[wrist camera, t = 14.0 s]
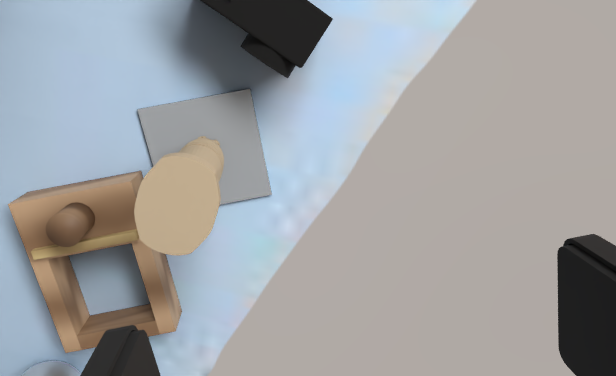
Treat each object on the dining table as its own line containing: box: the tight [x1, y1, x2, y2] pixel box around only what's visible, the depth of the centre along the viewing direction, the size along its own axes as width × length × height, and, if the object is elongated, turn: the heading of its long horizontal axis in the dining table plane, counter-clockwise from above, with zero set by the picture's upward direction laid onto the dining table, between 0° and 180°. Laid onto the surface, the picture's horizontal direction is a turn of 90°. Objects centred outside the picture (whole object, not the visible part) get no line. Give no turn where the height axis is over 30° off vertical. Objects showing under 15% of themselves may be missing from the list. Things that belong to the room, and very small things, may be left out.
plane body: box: [8, 171, 182, 353], centre depth 43 cm, size 15×10×6 cm
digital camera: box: [201, 0, 333, 78], centre depth 37 cm, size 10×5×7 cm, turn 56°
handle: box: [134, 136, 224, 255], centre depth 36 cm, size 5×6×15 cm
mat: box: [138, 89, 272, 205], centre depth 43 cm, size 10×10×1 cm
